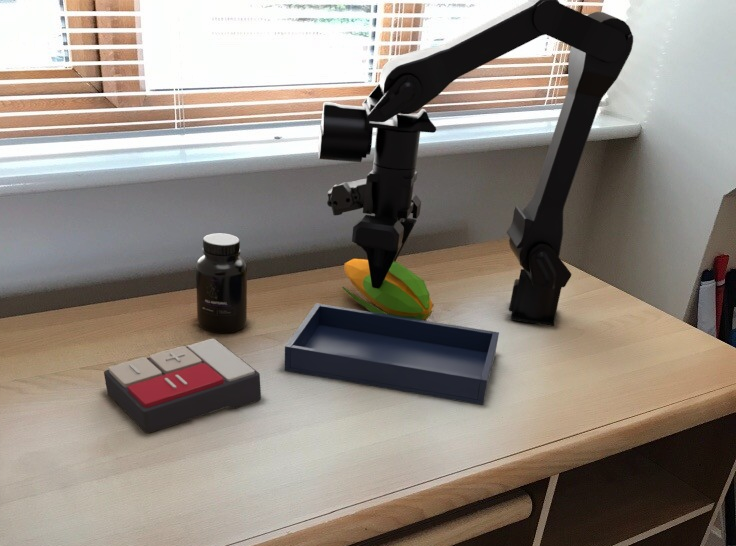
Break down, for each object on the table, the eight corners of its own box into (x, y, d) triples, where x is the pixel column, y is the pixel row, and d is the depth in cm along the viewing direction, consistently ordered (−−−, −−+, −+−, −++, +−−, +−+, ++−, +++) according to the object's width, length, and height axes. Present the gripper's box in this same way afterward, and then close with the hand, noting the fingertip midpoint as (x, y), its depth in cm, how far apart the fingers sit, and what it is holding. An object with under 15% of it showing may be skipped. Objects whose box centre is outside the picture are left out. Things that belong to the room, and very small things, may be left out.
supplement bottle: (207, 337, 115) (204, 250, 107) (191, 317, 119) (186, 232, 112) (254, 330, 117) (254, 244, 110) (236, 311, 122) (235, 228, 115)
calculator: (101, 364, 99) (214, 332, 106) (106, 397, 101) (217, 363, 108) (142, 405, 92) (261, 368, 99) (147, 439, 94) (262, 399, 102)
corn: (405, 289, 113) (324, 242, 125) (400, 342, 117) (323, 291, 130) (448, 279, 116) (365, 234, 129) (442, 331, 121) (362, 282, 134)
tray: (495, 355, 116) (499, 332, 114) (482, 405, 104) (487, 380, 102) (315, 325, 120) (316, 303, 118) (284, 370, 108) (284, 346, 106)
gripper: (351, 143, 122) (342, 250, 130) (318, 170, 106) (310, 290, 115) (428, 154, 120) (413, 262, 129) (405, 183, 105) (390, 304, 114)
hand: (381, 278), depth 122 cm, fingers closed on corn, 8 cm apart
